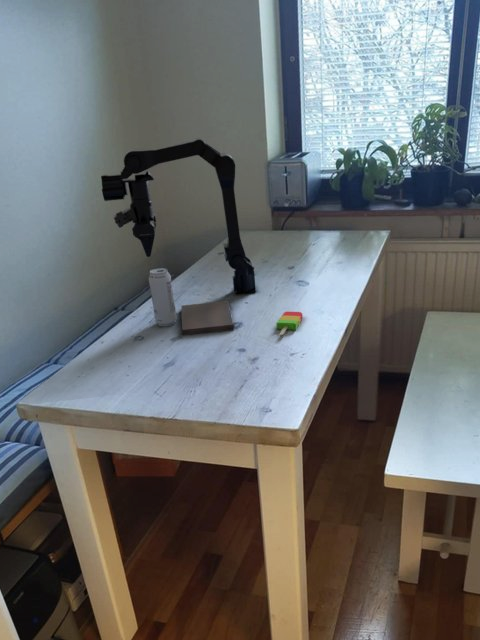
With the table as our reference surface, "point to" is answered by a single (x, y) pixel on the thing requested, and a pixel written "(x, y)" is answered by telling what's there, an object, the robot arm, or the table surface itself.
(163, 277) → the energy drink can
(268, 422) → the table surface
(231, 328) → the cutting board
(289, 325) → the popsicle
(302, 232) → the table surface
